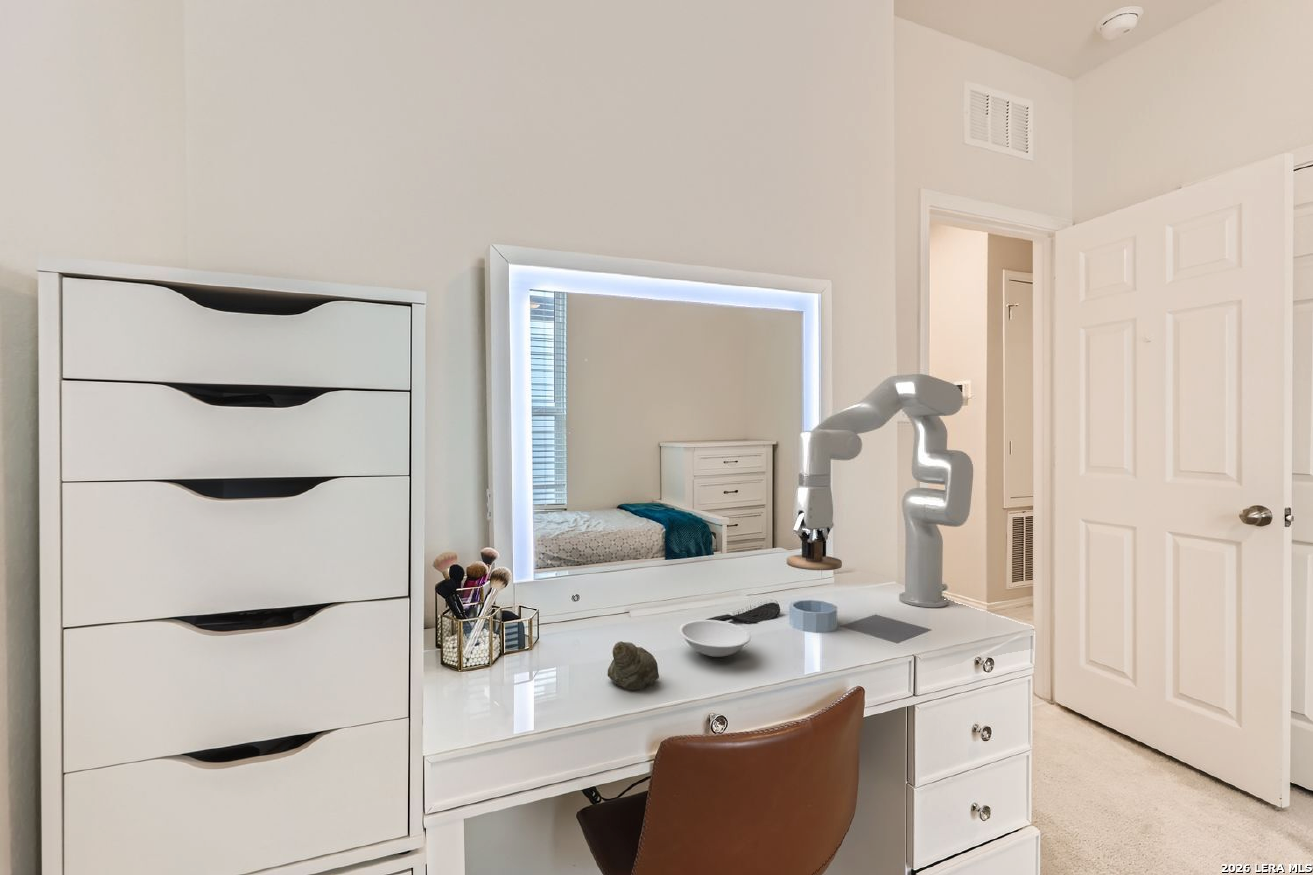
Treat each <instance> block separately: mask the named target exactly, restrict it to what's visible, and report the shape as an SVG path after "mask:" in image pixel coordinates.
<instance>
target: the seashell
mask: <svg viewBox="0 0 1313 875" xmlns="http://www.w3.org/2000/svg"><path fill="white" fill-rule="evenodd" d="M612 657H613V660H612V661H611V663H610V665H609V667H608V668H607V675H606V676H607V677H608V678H609V679H610V680H611V681H612V682H613V683H614V684H616V685H617V686H619V687H623V688H625V690H628V691H630V690H632V691H642V690H643V689H645V687H646V686H652V685H653V684H655V682H656V681H657V680H658V679H659V678H660V674H659V666H658V663H657V660H656V658H655V657H654V655H653V654H652V653H651V652H650V651H647V649H645V648H644V647H641V646H636V645H635V644H634V643H632V642H629V641H627V642H626V641H622V640H621V641H618V642H616V643H615V645H614V646H613V648H612ZM641 689H642V690H641Z"/></svg>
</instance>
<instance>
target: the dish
mask: <svg viewBox="0 0 1313 875" xmlns="http://www.w3.org/2000/svg"><path fill="white" fill-rule="evenodd" d="M678 633H679V635H680V636H681V637H682V638H683V639H684V640H685V641H686V643H687V644H688V645H689V646H690V647H691V648H692V649H693V650H695V651H696V652H698V653H700V654H702V655H706V656H710V657H712V658H716V657H718V658H719V657H720V658H721V657H727V656H731V655H733V654H736V653H737V652H738V651H741V649H742V648H743V647H744V645H747V644H748V643H749V642H750V640H751V639H752V638H751V637H752V636H751V633H750V632H749V631H748V630H746V629H745V628H743V627H742V626H739V625H737V624H735V623H731V622H727V621H717V620H706V619H697V620H692V621H691V620H690V621H687V622H685V623H682V624H681V625H680V626H679V628H678Z"/></svg>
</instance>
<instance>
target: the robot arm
mask: <svg viewBox="0 0 1313 875" xmlns="http://www.w3.org/2000/svg"><path fill="white" fill-rule="evenodd" d="M963 406H964V396H963V392H962V391H961V389H960V388H959V387H958V386H957V385H956V384H955V383H953V382H949V381H946V380H943V379H940V378H938V377H935V376H931V375H928V374H923V373H914V374H903V375H902V374H901V375H892V376H890V377H887V378H886V379H884V380H883V381H882V382H881V383H879V384H878V385H877V386H875V388H874V389H873V390H872V391H871V392H869V393H868V394H867V395H866V396H864V397H863V398H862V399H861V400H860V401H859V402H857V403H855V404H852V405H850V406H847V407H846V408H844V409H841V410H840V411H838V412H834V413H833V414H831V415H830V416H828V417H826V418H825V419H823V420H822V421H821V422H820V423H818V424H817V425H816V426H815V427H814V428H813V429H812V430H803V431H802V432H800V434H799V436H798V437H799V438H798V487H796V491H795V495H794V503H793V515H792V519H793V520H792V523H793V527H794V528H793V532H794V533H795V534H797V535H798V538H799V541H800V542H801V555H802V557H803V558H807V559H814V543H813V542H812V540H818V541H822V542H823V557H825V556H827V540H828V539H829V534H830V532H831V530H832V529H833V527H834V520H833V519H834V505H833V504H834V503H833V495H832V494H833V493H832V487H831V485H832V484H831V482H832V481H831V479H832V477H831V476H832V475H831V474H832V461H833V460H834V461H850V460H853V459H855V458H857V457H858V456H859V455H860V454H861V452H862V450H863V441H862V439H861V437H860V436H859V435H860V434H865V433H869V432H872V431H875V430H879V429H880V428H882V427H884V426H885V425H886V424H887V423H888V422H890V420H891V419H892V418H894V416H895V415H897V413H899V412H900V411H901V410H902V411H903V412H904V414H905V415H906V417H907V418H908V419H909V421H910V423H911V425H912V428H913V433H914V436H913V450H912V458H911V474H912V477H913V479H914V480H916V481H917V482H921V483H923V484H924V483H925V484H931V485H932V484H933V485H944V488H945V489H938V488H931V487H914V488H911V489H909V490H907V491H906V492H905V493H904V495H903V497H902V500H901V508H902V513H903V514H902V515H903V519H904V520H903V521H904V526H905V527H904V528H905V529H904V530H905V545H904V546H905V547H904V548H905V553H904V554H905V555H904V557H905V558H904V560H905V562H904V565H905V566H904V568H905V569H904V591H903V592H901V593H899V595H898V600H900V602H902V603H904V604H907V605H911V606H916V607H921V608H943V607H946V606H948V604H949V599H948V598H947V597H945V596H944V595H943V592H945V591H947V590H948V587H949V586H948V585H947V584H946V583H943V560H944V559H943V551H944V550H943V549H944V548H943V547H944V542H943V541H944V540H943V536H942V532H941V530H940V528H939V527H938V525H940V526H944V527H945V526H946V527H952V528H956V527H962V526H963V525H964V524H966V522H967V521H968V519H969V515H970V512H971V511H970V510H971V504H972V503H971V502H972V492H973V482H974V466H973V465H974V464H973V461H972V459H971V457H970V456H969V454H967V453H966V452H964V451H962V450H956V449H948V435H949V434H948V429H947V427H946V425H945V423H944V421H943V419H941V417H949V416H954V415H955V414H956V415H957V413H958V412H960V410H961V409H962V407H963ZM807 532H808V533H807ZM814 532H815V538H814V539H813V537H814ZM944 599H946V600H944Z"/></svg>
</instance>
